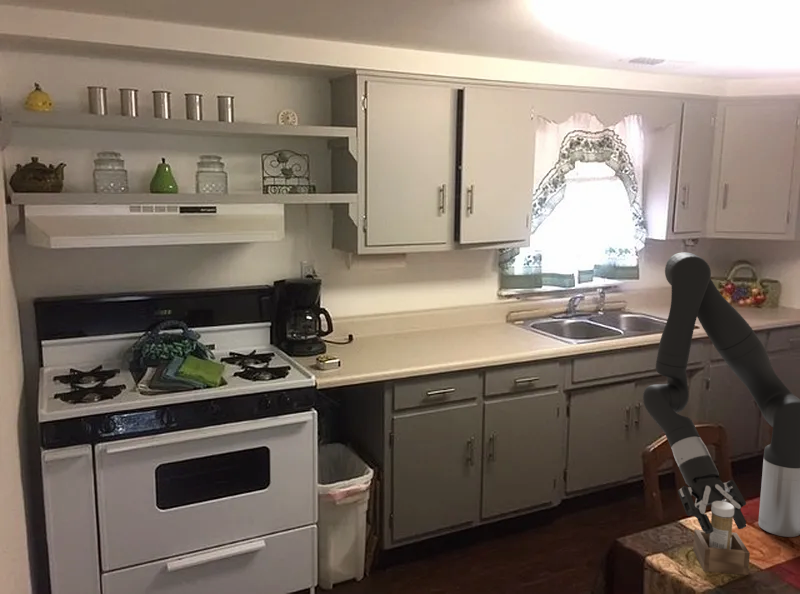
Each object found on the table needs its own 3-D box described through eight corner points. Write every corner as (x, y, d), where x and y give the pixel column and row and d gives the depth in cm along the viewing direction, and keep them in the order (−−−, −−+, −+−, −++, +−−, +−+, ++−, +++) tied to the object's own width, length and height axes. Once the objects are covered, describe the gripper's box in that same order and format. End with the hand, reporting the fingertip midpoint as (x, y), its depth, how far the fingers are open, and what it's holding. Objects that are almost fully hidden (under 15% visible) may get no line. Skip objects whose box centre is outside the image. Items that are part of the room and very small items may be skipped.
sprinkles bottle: (734, 563, 150) (738, 505, 148) (722, 569, 148) (727, 511, 146) (714, 554, 154) (719, 498, 152) (703, 560, 151) (707, 503, 149)
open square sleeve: (734, 553, 154) (736, 532, 153) (748, 574, 145) (749, 553, 145) (693, 549, 156) (694, 529, 155) (703, 570, 147) (705, 549, 146)
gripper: (676, 457, 153) (708, 528, 143) (729, 451, 156) (763, 520, 147) (659, 470, 158) (689, 540, 149) (711, 464, 162) (743, 531, 153)
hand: (726, 530), depth 148 cm, fingers open, 8 cm apart
